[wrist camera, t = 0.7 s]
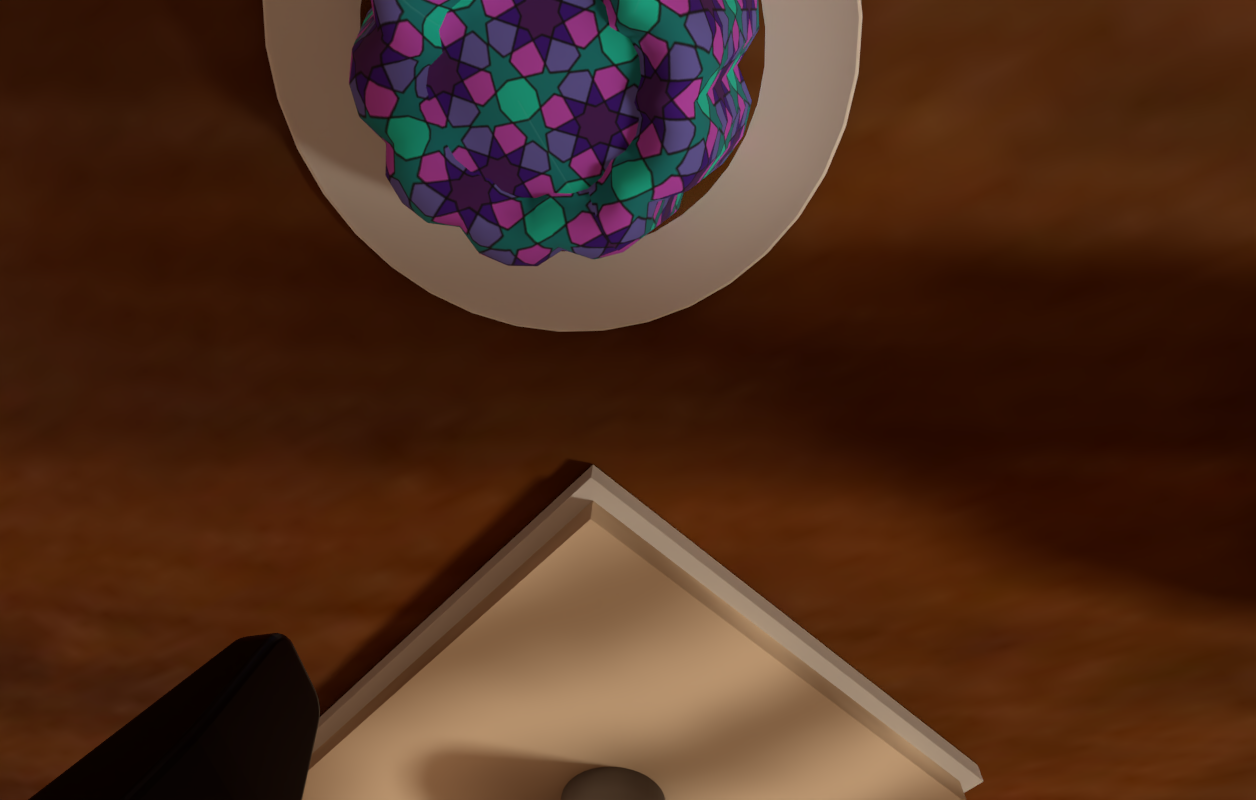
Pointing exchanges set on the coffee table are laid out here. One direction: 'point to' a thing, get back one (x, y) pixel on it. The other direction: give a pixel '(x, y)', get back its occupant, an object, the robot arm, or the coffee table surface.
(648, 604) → the lid
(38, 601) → the coffee table surface
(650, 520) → the mat
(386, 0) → the purple round dome
